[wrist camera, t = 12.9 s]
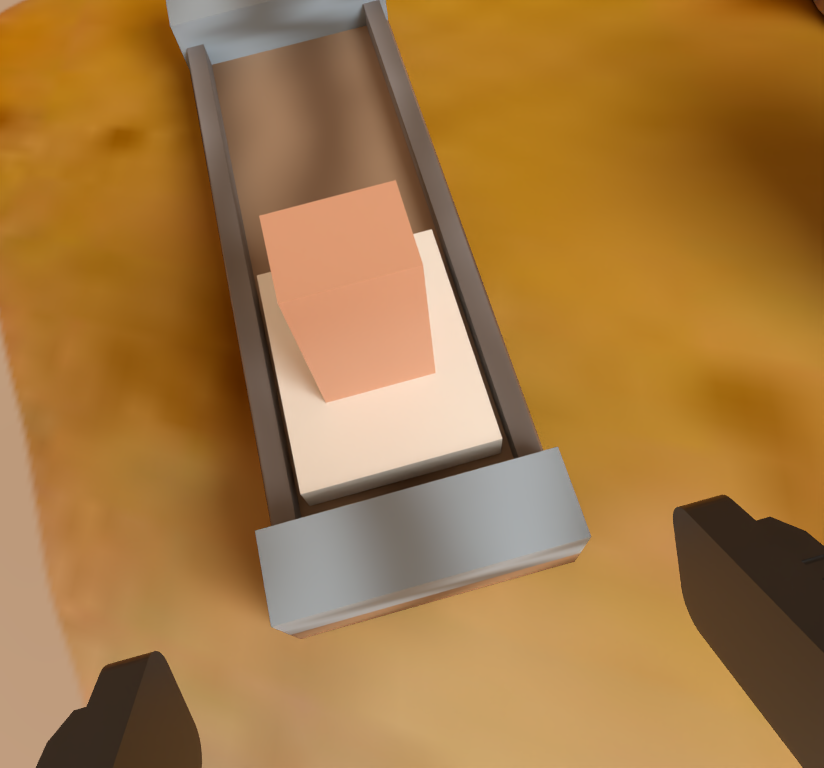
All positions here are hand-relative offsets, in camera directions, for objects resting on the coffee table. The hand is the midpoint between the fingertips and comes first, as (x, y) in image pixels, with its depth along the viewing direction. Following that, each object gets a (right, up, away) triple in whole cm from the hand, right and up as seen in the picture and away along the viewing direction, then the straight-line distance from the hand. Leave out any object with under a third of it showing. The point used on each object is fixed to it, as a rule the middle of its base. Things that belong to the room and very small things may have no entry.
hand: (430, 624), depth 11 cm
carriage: (-2, +4, +16) cm, 17 cm away
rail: (-3, +9, +21) cm, 23 cm away
